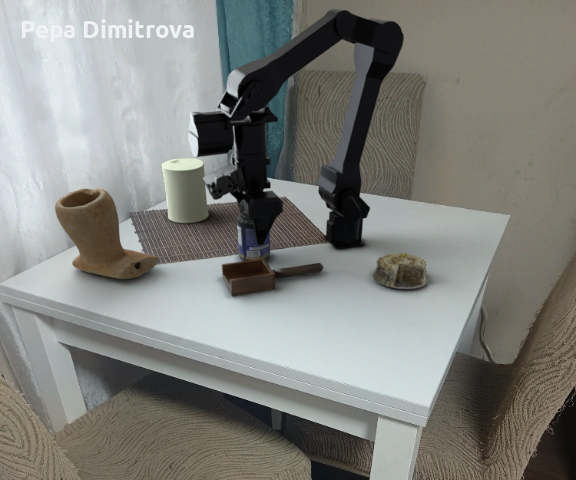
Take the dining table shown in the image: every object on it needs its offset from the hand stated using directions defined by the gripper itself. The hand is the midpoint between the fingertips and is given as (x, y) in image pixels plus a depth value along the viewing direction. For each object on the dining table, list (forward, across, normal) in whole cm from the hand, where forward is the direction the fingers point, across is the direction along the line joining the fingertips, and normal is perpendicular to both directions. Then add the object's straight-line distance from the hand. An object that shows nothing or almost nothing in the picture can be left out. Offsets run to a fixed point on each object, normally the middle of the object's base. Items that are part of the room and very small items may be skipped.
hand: (253, 235), depth 109 cm
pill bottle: (+5, -1, 0) cm, 5 cm away
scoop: (+5, +10, +1) cm, 11 cm away
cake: (+5, +17, +23) cm, 29 cm away
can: (+5, -27, -8) cm, 29 cm away
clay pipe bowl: (+5, -3, -27) cm, 28 cm away
